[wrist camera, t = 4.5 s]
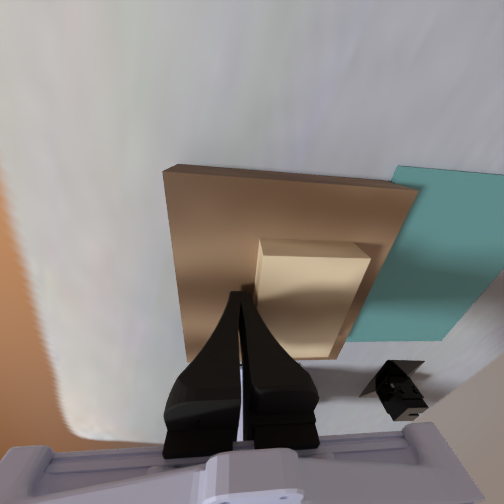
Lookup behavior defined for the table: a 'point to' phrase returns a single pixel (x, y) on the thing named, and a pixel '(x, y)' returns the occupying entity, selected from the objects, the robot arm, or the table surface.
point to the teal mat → (436, 256)
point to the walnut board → (268, 232)
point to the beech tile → (307, 291)
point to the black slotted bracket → (397, 390)
